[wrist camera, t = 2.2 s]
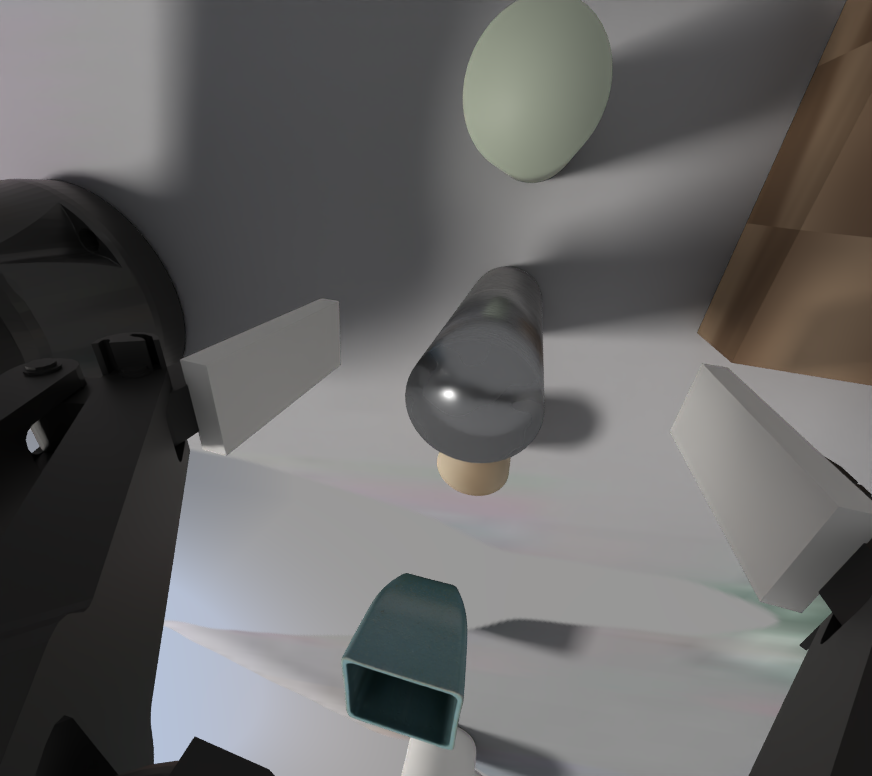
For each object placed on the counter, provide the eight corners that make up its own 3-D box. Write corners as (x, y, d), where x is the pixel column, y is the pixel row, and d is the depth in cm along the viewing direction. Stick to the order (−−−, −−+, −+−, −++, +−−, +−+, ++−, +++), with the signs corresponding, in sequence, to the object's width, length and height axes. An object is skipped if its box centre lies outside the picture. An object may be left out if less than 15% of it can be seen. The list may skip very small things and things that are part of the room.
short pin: (451, 438, 26) (434, 486, 22) (458, 388, 24) (440, 430, 20) (508, 451, 25) (501, 502, 21) (519, 401, 24) (515, 447, 19)
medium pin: (486, 178, 18) (455, 168, 12) (500, 76, 17) (472, -9, 10) (569, 186, 18) (587, 180, 11) (593, 81, 16) (634, -8, 9)
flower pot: (482, 576, 32) (464, 698, 24) (471, 634, 36) (453, 754, 28) (385, 550, 33) (339, 657, 26) (386, 609, 38) (346, 716, 30)
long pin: (466, 330, 22) (402, 447, 12) (475, 261, 20) (409, 329, 10) (533, 342, 22) (527, 476, 11) (549, 272, 20) (560, 355, 9)
